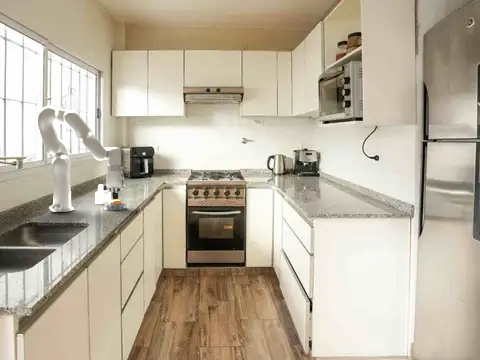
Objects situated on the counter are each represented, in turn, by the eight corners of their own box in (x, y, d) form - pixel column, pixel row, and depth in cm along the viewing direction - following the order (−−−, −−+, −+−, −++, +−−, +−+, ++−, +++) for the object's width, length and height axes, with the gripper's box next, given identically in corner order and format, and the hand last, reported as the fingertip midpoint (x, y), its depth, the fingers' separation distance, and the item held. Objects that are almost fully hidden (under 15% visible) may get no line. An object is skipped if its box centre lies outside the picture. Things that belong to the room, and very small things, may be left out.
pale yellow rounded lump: (117, 208, 278) (117, 201, 277) (106, 208, 280) (106, 201, 279) (123, 206, 285) (123, 200, 284) (112, 206, 286) (112, 199, 286)
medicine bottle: (104, 202, 309) (104, 184, 308) (111, 203, 304) (111, 184, 303) (95, 203, 303) (94, 184, 302) (101, 204, 299) (101, 185, 298)
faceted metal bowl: (119, 210, 275) (119, 205, 274) (100, 209, 277) (100, 204, 277) (129, 207, 287) (129, 202, 286) (110, 206, 290) (110, 201, 289)
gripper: (129, 168, 282) (129, 198, 283) (106, 167, 285) (107, 198, 287) (123, 169, 274) (124, 200, 276) (99, 168, 278) (100, 199, 280)
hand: (115, 199), depth 282 cm, fingers closed
